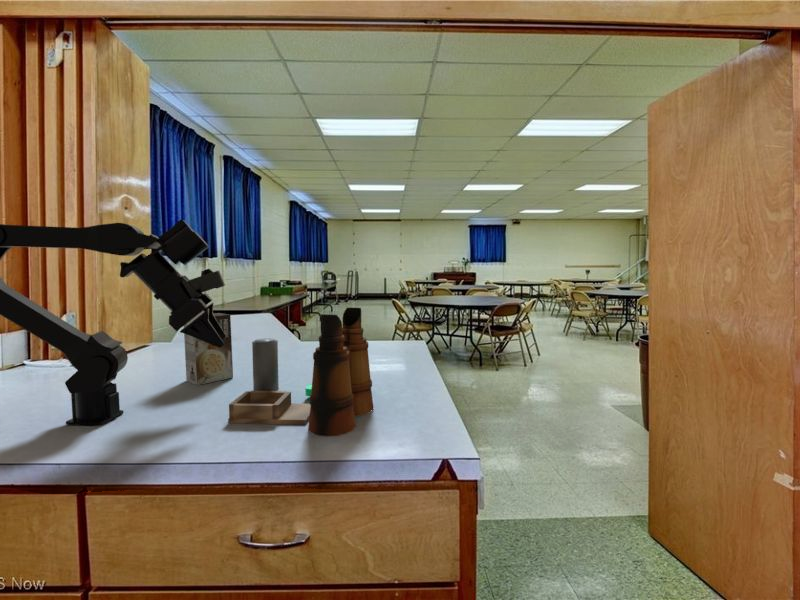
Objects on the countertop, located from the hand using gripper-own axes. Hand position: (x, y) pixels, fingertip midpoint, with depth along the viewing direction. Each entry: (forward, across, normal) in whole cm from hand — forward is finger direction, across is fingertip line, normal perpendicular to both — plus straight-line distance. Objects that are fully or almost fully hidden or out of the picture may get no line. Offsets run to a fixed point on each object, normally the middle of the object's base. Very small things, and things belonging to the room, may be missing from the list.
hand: (223, 341), depth 86 cm
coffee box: (+8, +23, +12) cm, 27 cm away
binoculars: (+24, -13, -8) cm, 28 cm away
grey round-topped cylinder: (+15, +1, +2) cm, 15 cm away
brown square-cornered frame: (+16, -8, +1) cm, 18 cm away
